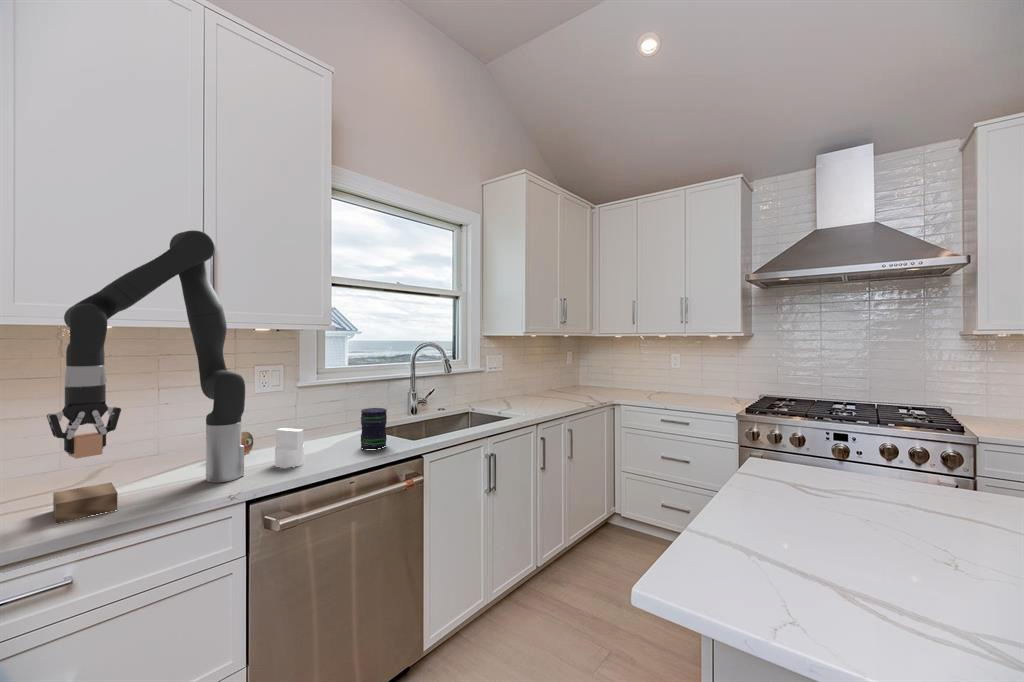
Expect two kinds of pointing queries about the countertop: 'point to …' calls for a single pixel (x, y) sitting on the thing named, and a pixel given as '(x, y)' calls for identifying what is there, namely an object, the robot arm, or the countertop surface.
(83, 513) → the walnut block
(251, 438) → the tin
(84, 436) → the terracotta cube
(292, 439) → the white block
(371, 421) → the storage jar
